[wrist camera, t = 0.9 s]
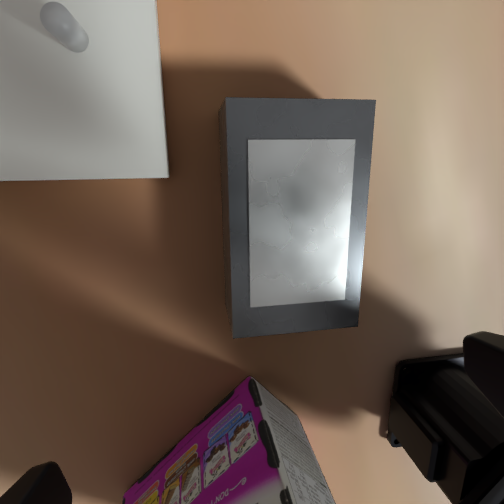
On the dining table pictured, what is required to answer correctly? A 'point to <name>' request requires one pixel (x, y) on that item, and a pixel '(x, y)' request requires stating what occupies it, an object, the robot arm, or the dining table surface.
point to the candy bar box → (238, 458)
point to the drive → (294, 211)
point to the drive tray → (81, 90)
